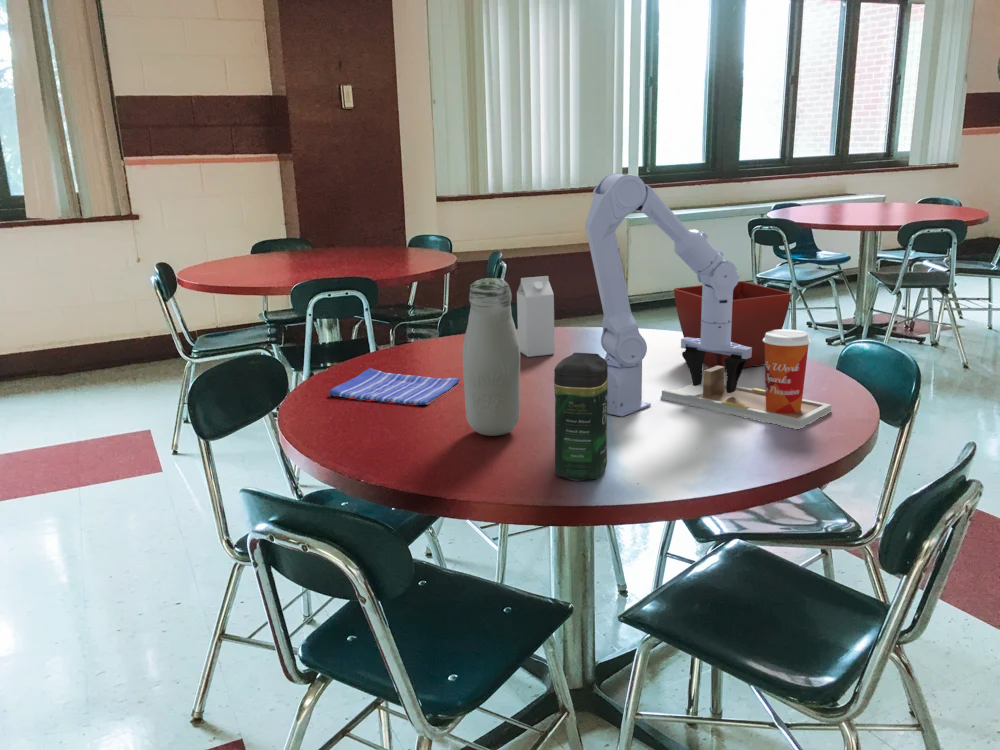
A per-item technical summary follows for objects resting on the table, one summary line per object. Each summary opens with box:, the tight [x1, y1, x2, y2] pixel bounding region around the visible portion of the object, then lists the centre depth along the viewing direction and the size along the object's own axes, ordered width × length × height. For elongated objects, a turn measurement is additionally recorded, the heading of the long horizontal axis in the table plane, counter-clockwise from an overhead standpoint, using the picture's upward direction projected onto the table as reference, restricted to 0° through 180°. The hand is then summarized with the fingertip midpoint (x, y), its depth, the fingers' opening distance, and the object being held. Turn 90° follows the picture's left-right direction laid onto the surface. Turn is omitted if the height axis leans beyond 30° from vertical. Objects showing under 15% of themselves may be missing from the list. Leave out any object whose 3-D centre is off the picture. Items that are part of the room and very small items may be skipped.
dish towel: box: [328, 367, 461, 406], centre depth 174 cm, size 17×24×3 cm
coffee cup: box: [763, 328, 812, 414], centre depth 148 cm, size 8×8×15 cm
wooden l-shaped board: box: [697, 366, 819, 418], centre depth 154 cm, size 9×21×6 cm, turn 44°
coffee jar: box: [553, 352, 608, 482], centre depth 125 cm, size 10×8×19 cm
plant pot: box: [673, 281, 792, 371], centre depth 185 cm, size 19×19×17 cm
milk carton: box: [516, 275, 556, 358], centre depth 199 cm, size 7×7×19 cm
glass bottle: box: [461, 277, 521, 437], centre depth 142 cm, size 10×10×28 cm
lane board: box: [660, 378, 833, 430], centre depth 156 cm, size 13×29×2 cm, turn 44°
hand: (713, 388), depth 160 cm, fingers open, 7 cm apart
